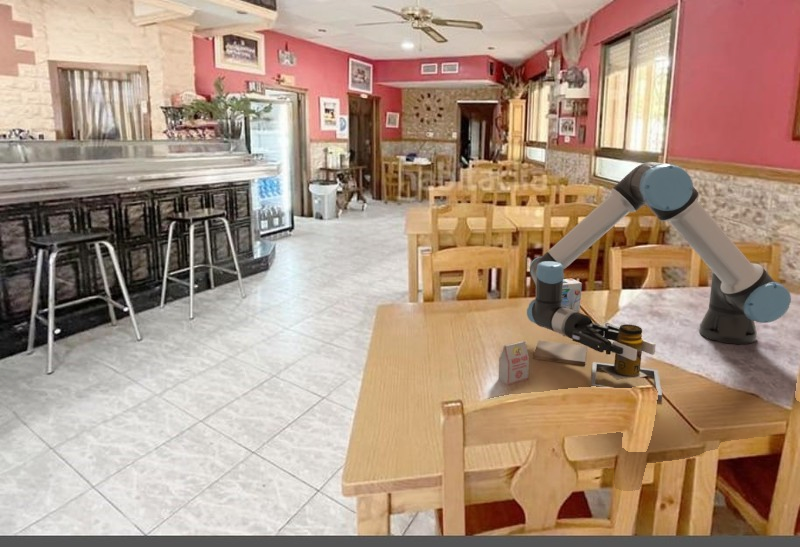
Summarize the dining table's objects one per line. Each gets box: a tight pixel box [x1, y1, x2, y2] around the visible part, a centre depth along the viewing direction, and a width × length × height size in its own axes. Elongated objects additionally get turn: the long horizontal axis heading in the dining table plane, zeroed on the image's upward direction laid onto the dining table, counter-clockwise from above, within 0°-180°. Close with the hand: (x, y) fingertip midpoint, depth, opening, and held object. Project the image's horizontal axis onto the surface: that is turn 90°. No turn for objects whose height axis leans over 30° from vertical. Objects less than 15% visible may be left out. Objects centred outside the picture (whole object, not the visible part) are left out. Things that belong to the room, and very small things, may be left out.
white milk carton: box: [498, 340, 530, 386], centre depth 139 cm, size 4×7×10 cm, turn 118°
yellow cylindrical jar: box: [600, 323, 648, 381], centre depth 134 cm, size 7×8×12 cm
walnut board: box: [532, 340, 588, 366], centre depth 156 cm, size 14×12×1 cm
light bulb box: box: [562, 278, 583, 313], centre depth 192 cm, size 11×7×11 cm, turn 104°
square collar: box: [590, 361, 663, 402], centre depth 137 cm, size 16×15×2 cm
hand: (644, 352), depth 130 cm, fingers closed on yellow cylindrical jar, 6 cm apart
